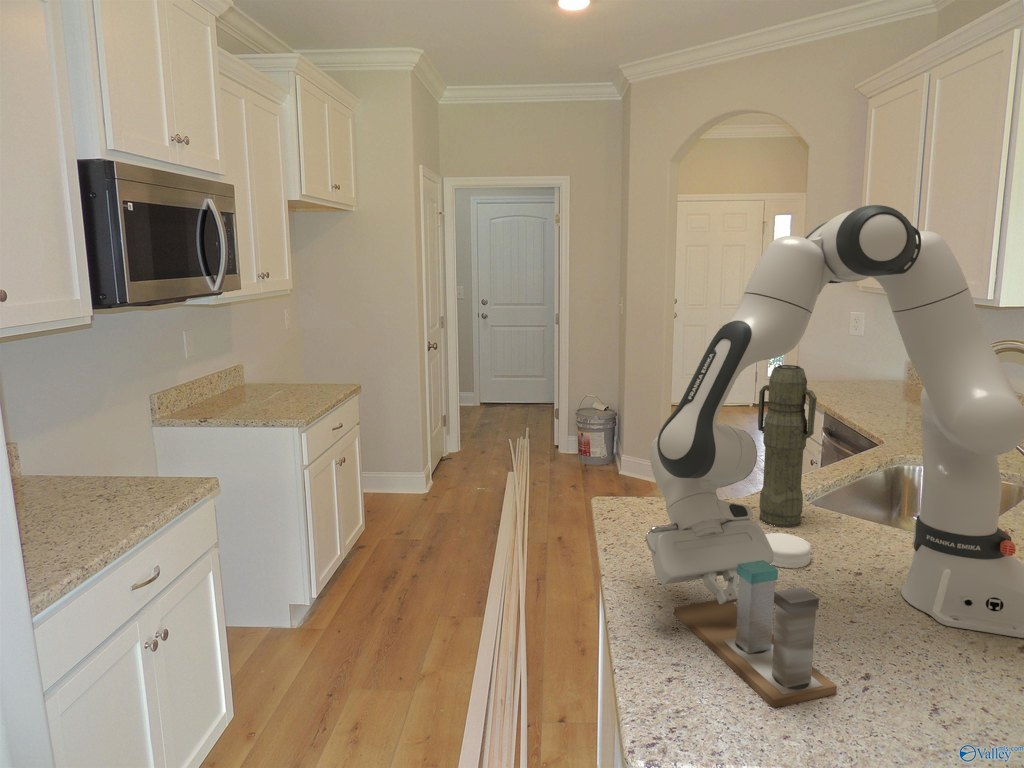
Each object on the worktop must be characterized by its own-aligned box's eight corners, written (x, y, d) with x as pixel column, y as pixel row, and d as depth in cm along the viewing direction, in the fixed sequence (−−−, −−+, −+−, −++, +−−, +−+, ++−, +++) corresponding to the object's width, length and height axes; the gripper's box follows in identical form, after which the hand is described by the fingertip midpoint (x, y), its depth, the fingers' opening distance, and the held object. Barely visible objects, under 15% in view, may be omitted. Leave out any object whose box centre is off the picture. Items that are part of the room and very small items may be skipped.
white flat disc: (800, 574, 131) (801, 556, 130) (748, 560, 137) (748, 543, 136) (817, 556, 138) (818, 540, 137) (766, 544, 144) (767, 528, 144)
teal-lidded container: (733, 642, 105) (737, 563, 103) (759, 637, 106) (763, 559, 104) (747, 654, 102) (751, 573, 99) (773, 649, 103) (778, 569, 101)
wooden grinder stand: (674, 613, 116) (676, 535, 114) (726, 604, 119) (729, 528, 117) (773, 708, 92) (779, 611, 89) (836, 693, 95) (843, 599, 92)
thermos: (803, 532, 150) (814, 371, 143) (747, 521, 156) (755, 367, 150) (812, 519, 157) (822, 365, 151) (758, 509, 163) (766, 362, 157)
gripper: (649, 520, 111) (678, 605, 103) (758, 505, 117) (794, 585, 109) (635, 536, 116) (663, 618, 108) (741, 521, 122) (774, 599, 114)
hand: (730, 602), depth 109 cm, fingers closed
